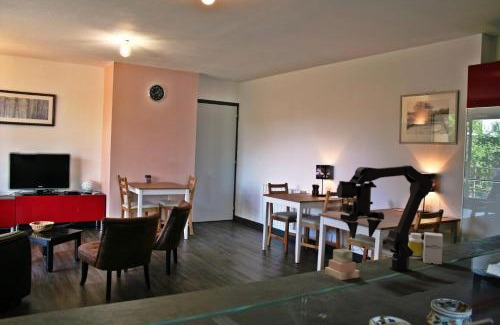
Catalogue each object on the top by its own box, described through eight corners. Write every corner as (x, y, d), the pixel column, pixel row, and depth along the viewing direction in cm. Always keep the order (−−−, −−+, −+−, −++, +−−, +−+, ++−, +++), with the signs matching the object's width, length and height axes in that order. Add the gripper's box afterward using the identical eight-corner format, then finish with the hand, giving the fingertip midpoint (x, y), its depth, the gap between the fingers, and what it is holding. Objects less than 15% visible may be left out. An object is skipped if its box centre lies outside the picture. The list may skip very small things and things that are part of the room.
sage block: (343, 258, 161) (343, 248, 161) (352, 262, 156) (352, 251, 156) (332, 260, 159) (333, 249, 158) (341, 263, 154) (342, 252, 154)
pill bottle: (423, 259, 187) (424, 235, 187) (409, 258, 188) (410, 234, 188) (420, 256, 193) (421, 233, 193) (406, 255, 195) (407, 232, 194)
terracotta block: (343, 266, 162) (343, 258, 162) (355, 270, 155) (355, 262, 155) (328, 267, 159) (329, 259, 159) (340, 272, 153) (340, 264, 152)
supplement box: (423, 263, 181) (424, 234, 181) (423, 259, 188) (424, 231, 188) (441, 265, 178) (443, 235, 178) (441, 261, 185) (442, 233, 185)
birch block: (342, 272, 164) (342, 264, 164) (359, 278, 156) (359, 270, 156) (324, 275, 159) (325, 267, 159) (341, 281, 151) (341, 273, 151)
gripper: (365, 196, 177) (364, 232, 177) (331, 197, 168) (330, 235, 168) (385, 198, 167) (384, 237, 167) (351, 199, 158) (349, 240, 158)
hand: (361, 237), depth 165 cm, fingers open, 9 cm apart
